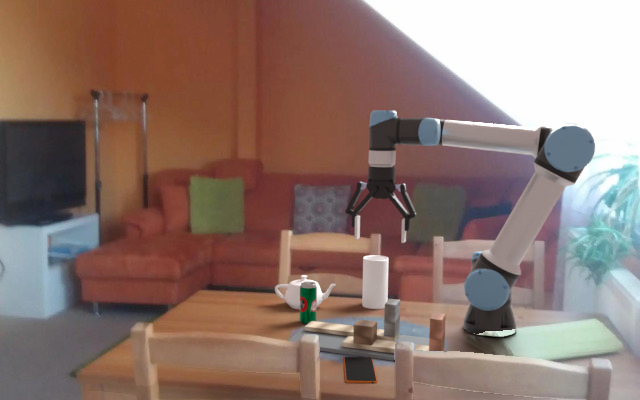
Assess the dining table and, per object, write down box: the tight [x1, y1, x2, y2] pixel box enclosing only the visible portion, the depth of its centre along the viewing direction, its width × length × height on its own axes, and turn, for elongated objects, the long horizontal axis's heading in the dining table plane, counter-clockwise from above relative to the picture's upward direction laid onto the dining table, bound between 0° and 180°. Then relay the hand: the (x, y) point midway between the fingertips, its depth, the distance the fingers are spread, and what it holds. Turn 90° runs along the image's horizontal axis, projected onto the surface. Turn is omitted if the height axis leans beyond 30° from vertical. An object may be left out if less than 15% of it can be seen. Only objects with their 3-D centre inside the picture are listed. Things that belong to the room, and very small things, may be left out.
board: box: [288, 326, 429, 361], centre depth 186 cm, size 39×18×1 cm, turn 70°
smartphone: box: [343, 356, 378, 384], centre depth 167 cm, size 8×17×1 cm, turn 0°
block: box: [353, 319, 378, 346], centre depth 181 cm, size 5×5×5 cm
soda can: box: [299, 281, 318, 325], centre depth 205 cm, size 5×5×12 cm
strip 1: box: [304, 298, 401, 342], centre depth 191 cm, size 26×6×10 cm, turn 70°
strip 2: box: [342, 312, 447, 353], centre depth 178 cm, size 26×6×10 cm, turn 70°
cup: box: [361, 254, 389, 310], centre depth 223 cm, size 8×8×16 cm
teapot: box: [274, 274, 337, 311], centre depth 222 cm, size 20×12×10 cm, turn 84°
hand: (380, 240), depth 194 cm, fingers open, 13 cm apart
